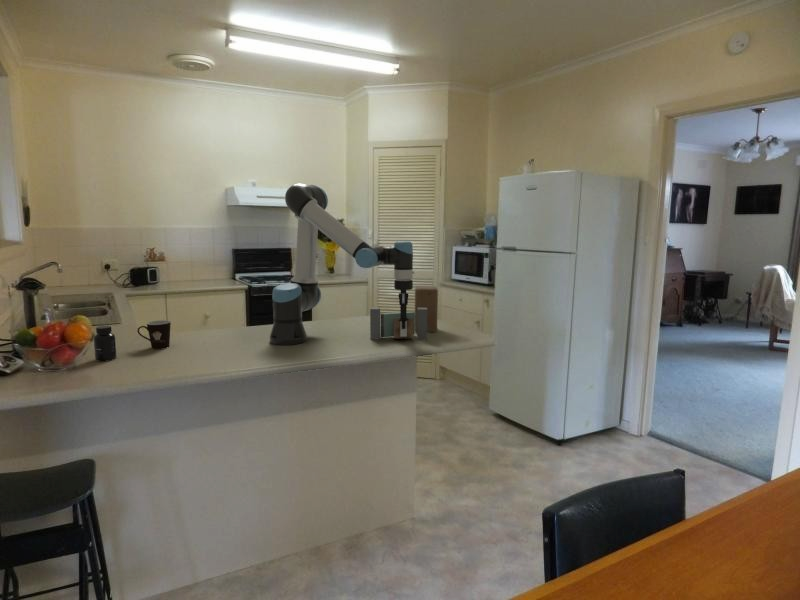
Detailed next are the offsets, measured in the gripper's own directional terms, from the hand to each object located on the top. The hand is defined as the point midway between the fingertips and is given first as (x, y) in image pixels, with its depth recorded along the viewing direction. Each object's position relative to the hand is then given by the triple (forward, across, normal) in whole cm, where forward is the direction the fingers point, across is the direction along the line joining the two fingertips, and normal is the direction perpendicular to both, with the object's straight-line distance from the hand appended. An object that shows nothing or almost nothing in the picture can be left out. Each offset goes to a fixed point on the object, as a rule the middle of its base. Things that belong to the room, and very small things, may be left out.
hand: (403, 336), depth 212 cm
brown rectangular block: (+2, +3, 0) cm, 3 cm away
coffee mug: (+3, -11, +98) cm, 99 cm away
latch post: (+3, +7, -8) cm, 11 cm away
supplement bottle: (+3, -29, +108) cm, 112 cm away
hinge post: (+3, +7, +12) cm, 14 cm away
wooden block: (+3, +22, -10) cm, 24 cm away
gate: (+2, +9, +3) cm, 10 cm away
